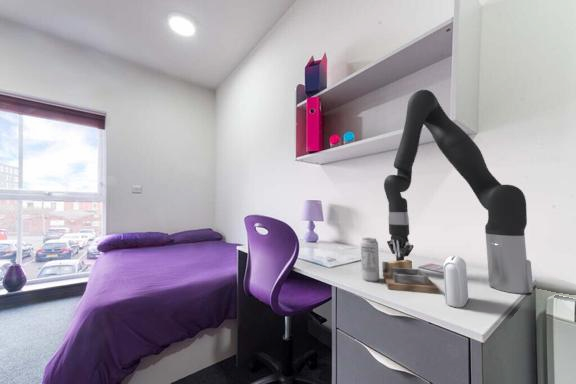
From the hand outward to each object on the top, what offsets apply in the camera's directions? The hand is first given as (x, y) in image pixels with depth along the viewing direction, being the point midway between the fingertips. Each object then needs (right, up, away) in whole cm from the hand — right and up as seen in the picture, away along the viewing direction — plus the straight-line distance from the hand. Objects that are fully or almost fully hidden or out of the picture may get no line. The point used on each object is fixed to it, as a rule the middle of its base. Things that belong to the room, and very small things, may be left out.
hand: (400, 266), depth 92 cm
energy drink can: (-16, -2, -10) cm, 19 cm away
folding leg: (-4, -2, -5) cm, 6 cm away
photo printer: (+1, -1, -29) cm, 29 cm away
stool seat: (-5, -1, -16) cm, 17 cm away
